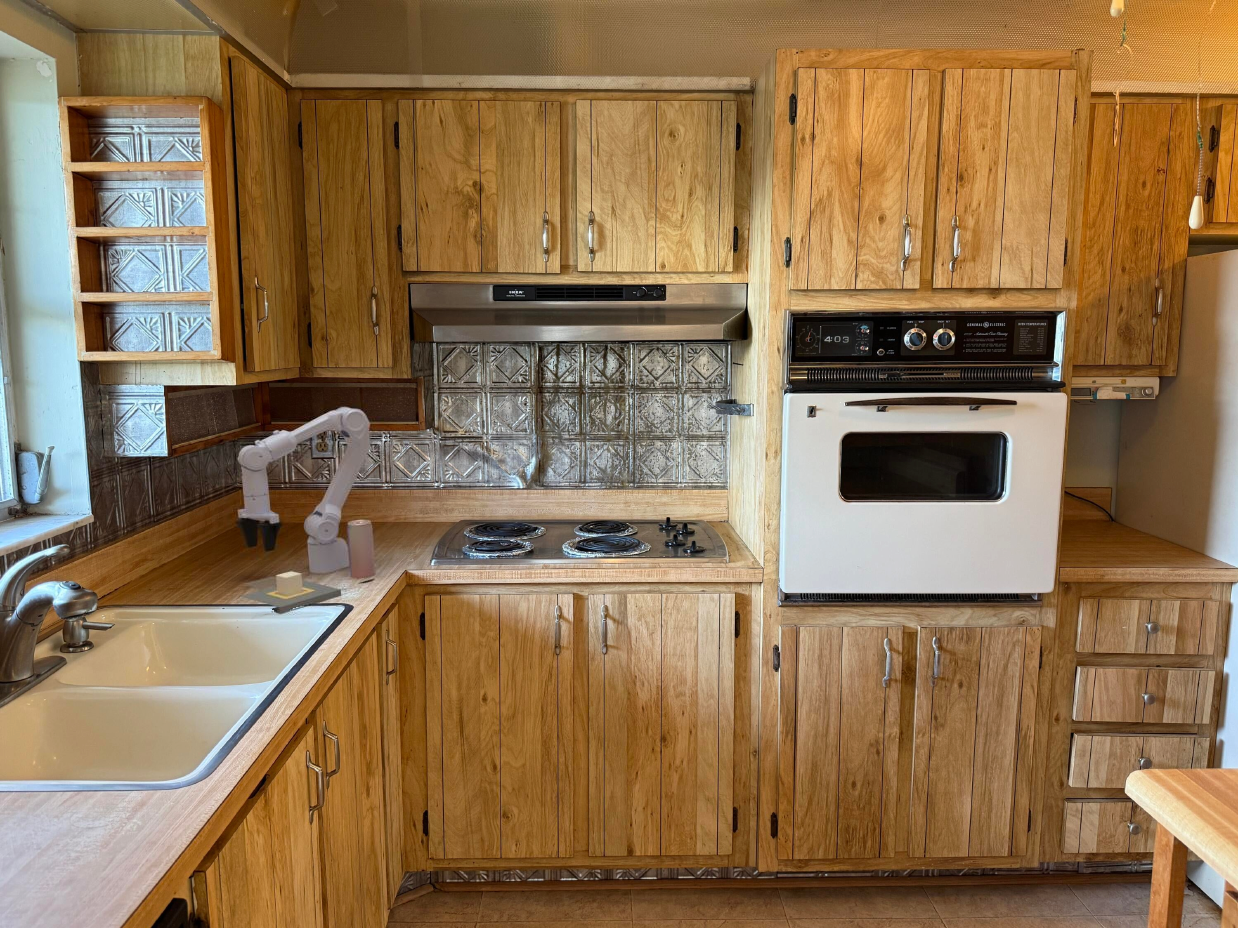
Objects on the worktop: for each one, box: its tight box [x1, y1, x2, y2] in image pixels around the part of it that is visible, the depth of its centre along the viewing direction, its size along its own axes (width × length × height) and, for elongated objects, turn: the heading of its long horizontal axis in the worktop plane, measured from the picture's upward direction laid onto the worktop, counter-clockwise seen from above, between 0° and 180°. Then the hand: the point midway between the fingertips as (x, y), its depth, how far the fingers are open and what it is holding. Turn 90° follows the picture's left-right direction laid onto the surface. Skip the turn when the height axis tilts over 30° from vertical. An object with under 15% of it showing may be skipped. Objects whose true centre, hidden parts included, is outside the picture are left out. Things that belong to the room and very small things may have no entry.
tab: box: [243, 576, 277, 590], centre depth 213 cm, size 8×8×2 cm
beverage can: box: [346, 519, 376, 585], centre depth 217 cm, size 6×6×15 cm
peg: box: [275, 571, 304, 597], centre depth 203 cm, size 4×4×6 cm
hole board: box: [240, 579, 342, 615], centre depth 204 cm, size 16×16×2 cm
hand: (261, 548), depth 214 cm, fingers open, 7 cm apart
